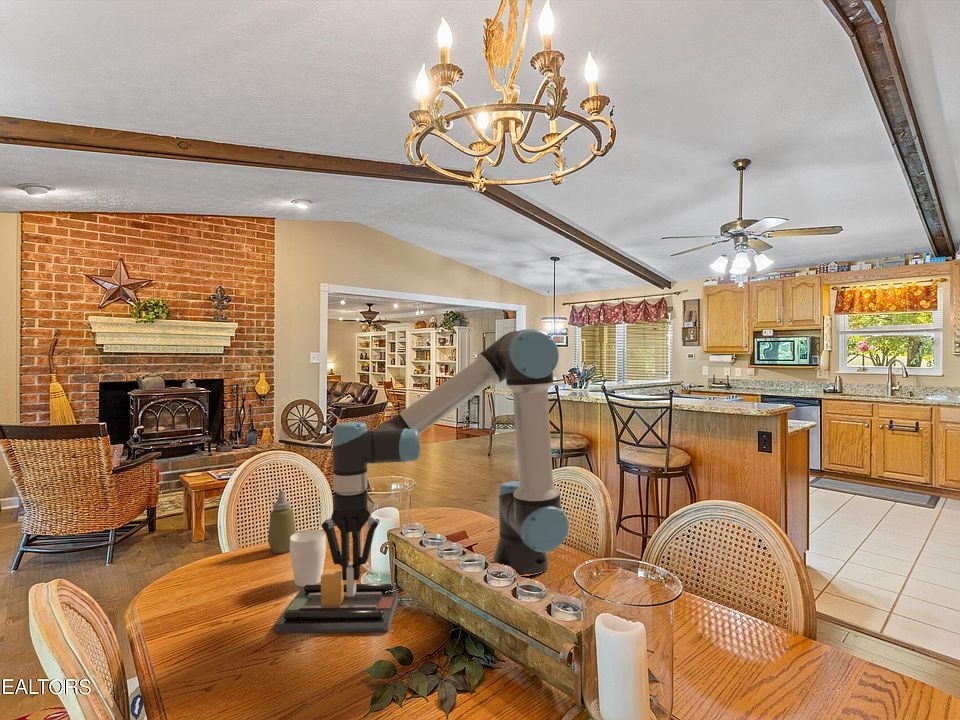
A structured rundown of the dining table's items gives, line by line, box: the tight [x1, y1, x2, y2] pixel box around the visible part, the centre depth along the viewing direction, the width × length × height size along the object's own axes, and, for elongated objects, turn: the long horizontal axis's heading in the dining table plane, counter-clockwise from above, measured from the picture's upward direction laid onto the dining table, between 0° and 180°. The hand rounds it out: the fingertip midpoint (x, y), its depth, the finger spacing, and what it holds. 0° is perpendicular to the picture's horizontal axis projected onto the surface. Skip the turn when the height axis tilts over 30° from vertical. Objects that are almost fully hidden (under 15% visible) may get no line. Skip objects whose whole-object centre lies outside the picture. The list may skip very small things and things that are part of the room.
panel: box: [274, 583, 399, 634], centre depth 113 cm, size 24×16×4 cm, turn 90°
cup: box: [289, 529, 327, 588], centre depth 129 cm, size 9×9×12 cm
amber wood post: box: [320, 568, 345, 606], centre depth 113 cm, size 4×4×7 cm
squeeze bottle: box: [267, 490, 297, 554], centre depth 150 cm, size 8×8×18 cm
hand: (351, 593), depth 113 cm, fingers closed
